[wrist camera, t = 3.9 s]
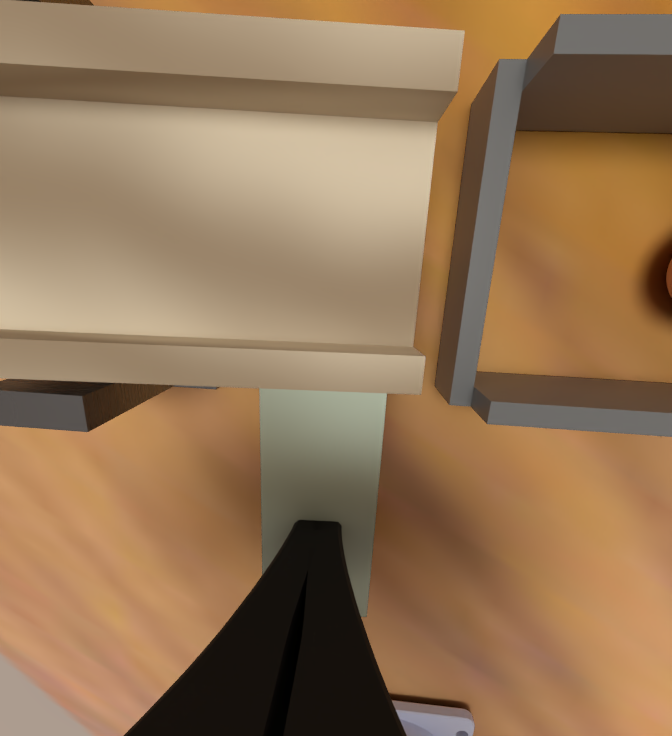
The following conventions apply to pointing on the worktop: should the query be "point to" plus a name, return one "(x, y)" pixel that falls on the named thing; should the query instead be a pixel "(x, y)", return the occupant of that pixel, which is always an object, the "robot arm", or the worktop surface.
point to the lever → (226, 225)
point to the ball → (669, 278)
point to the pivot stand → (70, 389)
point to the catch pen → (486, 198)
